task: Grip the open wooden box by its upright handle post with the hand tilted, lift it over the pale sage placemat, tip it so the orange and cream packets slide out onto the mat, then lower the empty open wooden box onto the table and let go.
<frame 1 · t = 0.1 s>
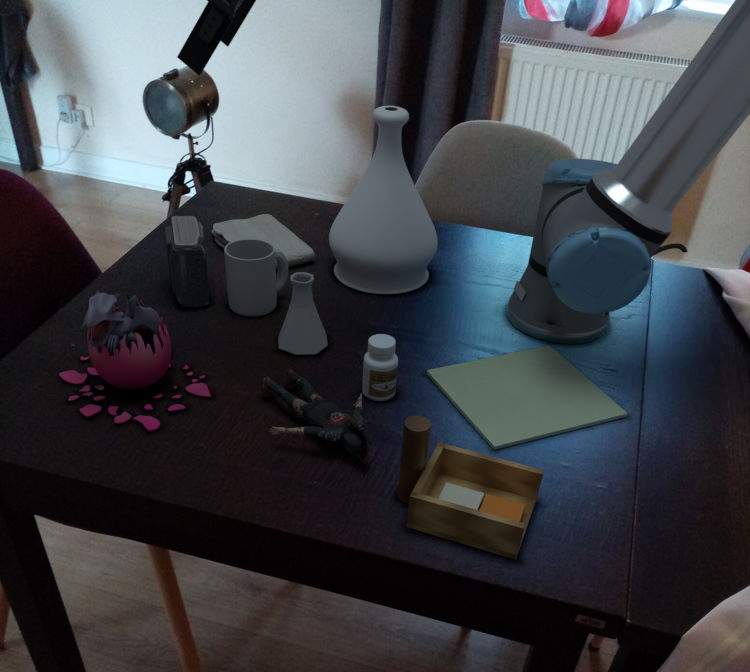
hand: (204, 51, 87), 36 cm above the table, tool tilted 35°, fingers open, 13 cm apart
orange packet: (500, 516, 84), point 1 cm above the table, touching open wooden box
cup: (260, 304, 119), on the table
open wooden box: (472, 513, 86), on the table, touching cream packet, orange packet
cream packet: (459, 504, 85), point 1 cm above the table, touching open wooden box
camera: (190, 293, 120), on the table
vase: (381, 273, 129), on the table
placemat: (523, 394, 104), on the table
figurine: (321, 431, 96), on the table
pill bottle: (378, 394, 102), on the table
flask: (302, 344, 111), on the table
hatching egg: (135, 387, 101), on the table
washcloth: (261, 251, 133), on the table
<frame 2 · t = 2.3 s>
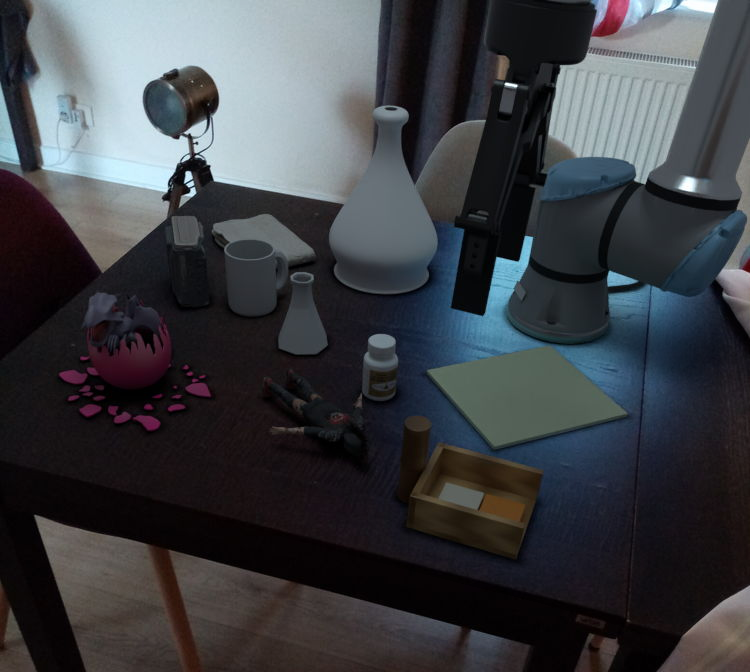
hand: (487, 282, 68), 27 cm above the table, tool pointing down, fingers open, 13 cm apart
nothing on the table moved.
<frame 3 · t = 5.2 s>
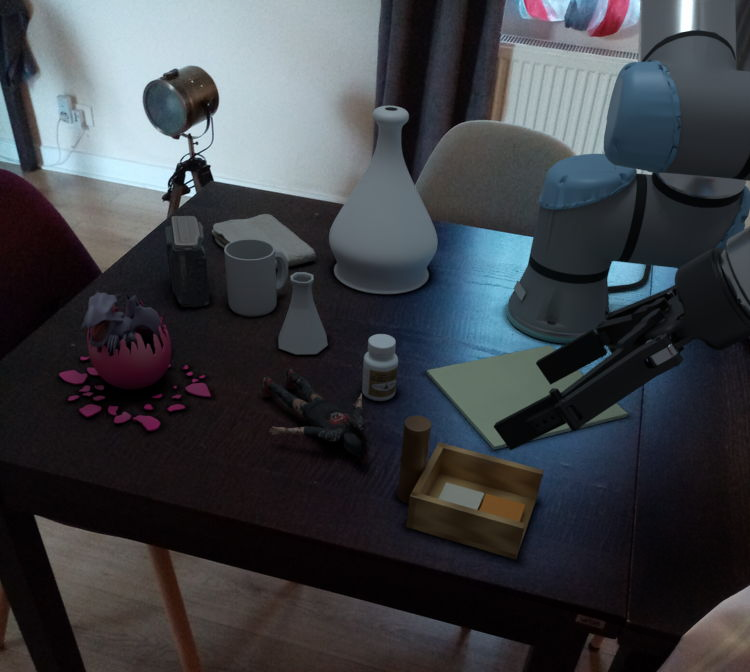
hand: (524, 402, 75), 16 cm above the table, tool tilted 45°, fingers open, 13 cm apart
nothing on the table moved.
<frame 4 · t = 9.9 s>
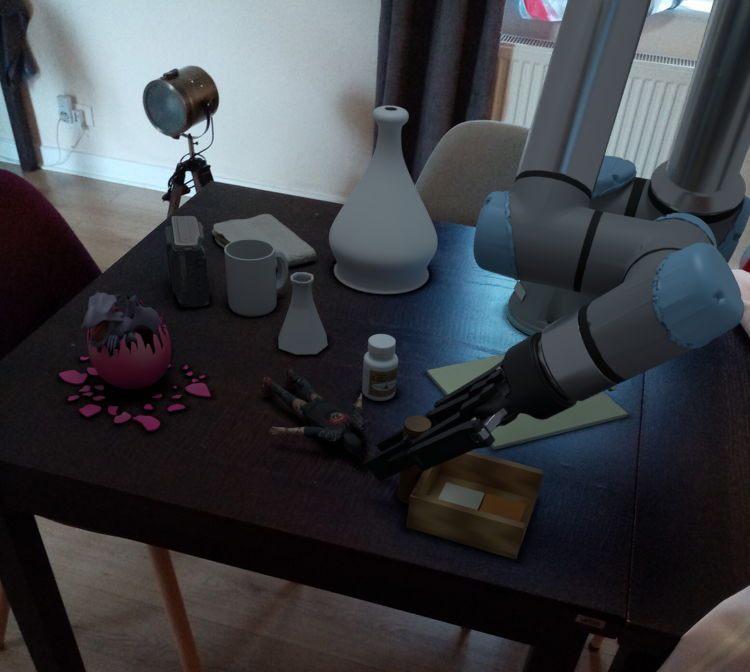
hand: (379, 461, 86), 4 cm above the table, tool tilted 45°, fingers closed on open wooden box, 3 cm apart
open wooden box: (472, 513, 86), on the table, touching cream packet, gripper, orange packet
everything else where it was.
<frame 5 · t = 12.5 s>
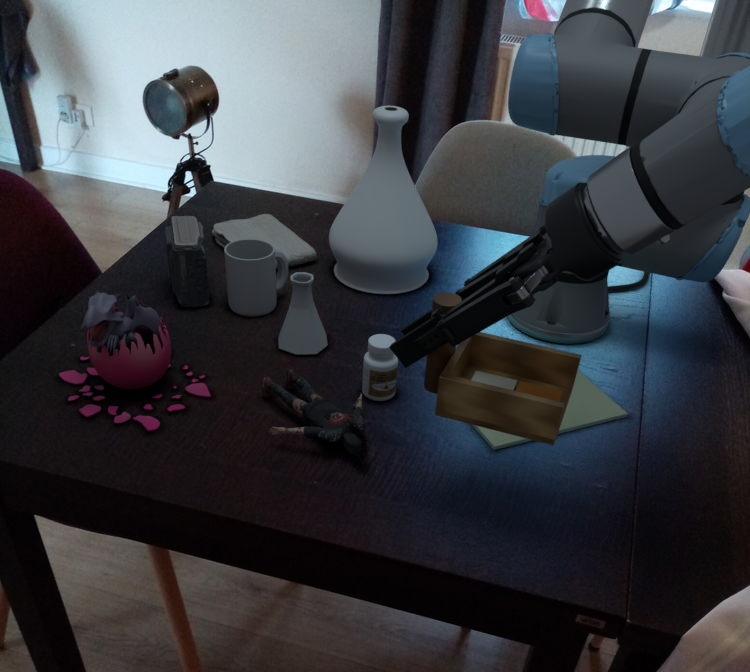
hand: (404, 347, 80), 16 cm above the table, tool tilted 45°, fingers closed on open wooden box, 3 cm apart
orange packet: (535, 403, 79), point 13 cm above the table, touching open wooden box
open wooden box: (505, 403, 80), point 12 cm above the table, touching cream packet, gripper, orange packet
cream packet: (491, 393, 80), point 13 cm above the table, touching open wooden box
everything else where it was.
when the fingers open (4 cm above the table, at t = 27.4 s): open wooden box drops 13 cm, resting on figurine.
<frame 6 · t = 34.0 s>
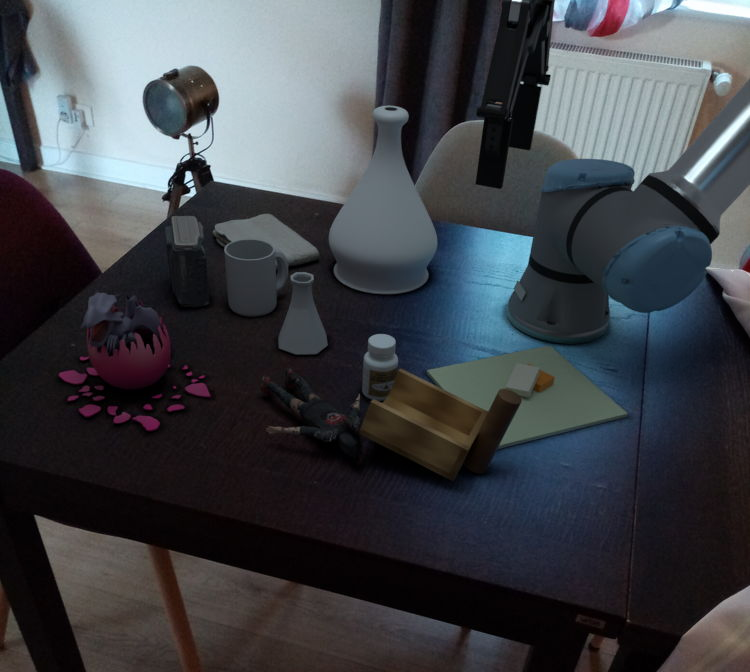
hand: (504, 166, 85), 29 cm above the table, tool pointing down, fingers open, 13 cm apart
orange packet: (534, 374, 104), point 2 cm above the table, tilted 180°, touching cream packet, placemat
open wooden box: (419, 437, 92), point 2 cm above the table, tilted 15°, touching figurine
cream packet: (522, 377, 102), point 3 cm above the table, tilted 160°, touching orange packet, placemat
figurine: (318, 431, 96), on the table, touching open wooden box
everything else where it was.
at the end: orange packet inside the target area on the placemat (2.7 cm from its centre), point 1.8 cm above the placemat's base; cream packet inside the target area on the placemat (0.7 cm from its centre), point 2.6 cm above the placemat's base; the gripper is holding nothing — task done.
